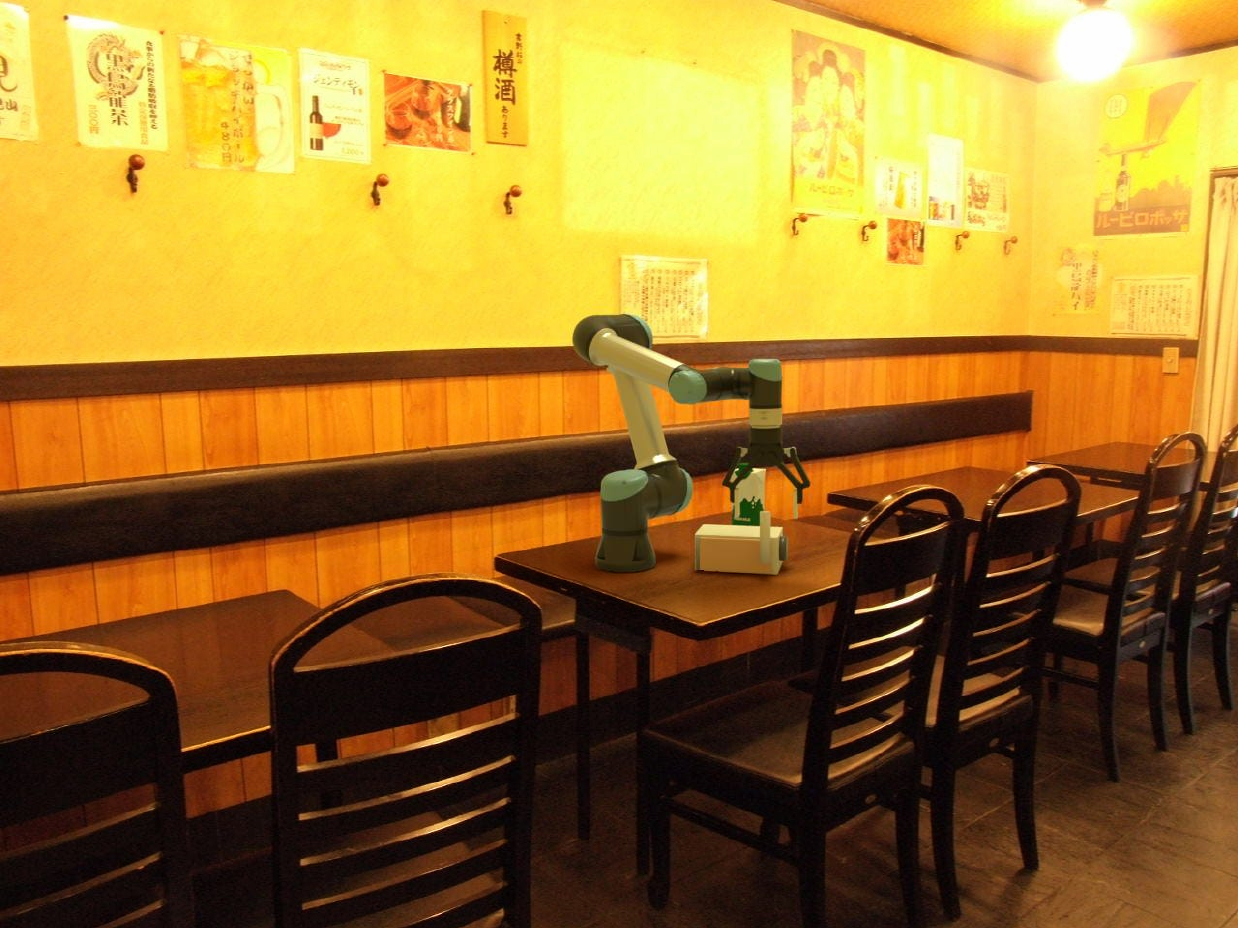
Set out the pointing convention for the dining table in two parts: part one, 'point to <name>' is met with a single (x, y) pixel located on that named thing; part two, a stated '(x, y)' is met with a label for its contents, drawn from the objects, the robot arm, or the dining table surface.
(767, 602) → the dining table surface
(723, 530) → the camera body
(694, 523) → the dining table surface
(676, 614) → the dining table surface
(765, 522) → the side door
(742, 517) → the milk carton
